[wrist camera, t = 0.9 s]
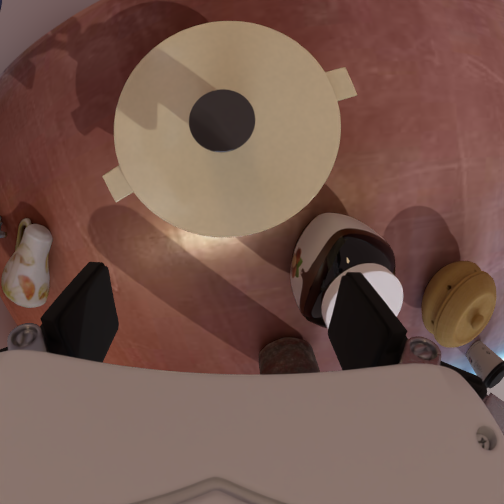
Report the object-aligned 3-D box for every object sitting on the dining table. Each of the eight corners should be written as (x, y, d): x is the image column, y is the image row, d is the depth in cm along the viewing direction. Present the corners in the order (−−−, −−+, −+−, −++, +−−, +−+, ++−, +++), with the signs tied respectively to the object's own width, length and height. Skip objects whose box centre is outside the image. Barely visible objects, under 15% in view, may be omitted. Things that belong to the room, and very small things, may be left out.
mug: (70, 226, 28) (39, 302, 22) (62, 261, 34) (40, 324, 28) (22, 201, 24) (-17, 272, 18) (22, 241, 31) (-4, 301, 25)
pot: (477, 255, 33) (518, 286, 24) (449, 319, 38) (482, 356, 29) (429, 246, 32) (476, 282, 23) (399, 320, 36) (432, 366, 27)
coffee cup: (456, 362, 43) (479, 394, 34) (474, 335, 41) (501, 366, 32) (472, 361, 44) (494, 390, 35) (489, 336, 42) (513, 364, 33)
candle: (261, 329, 35) (283, 478, 17) (317, 330, 36) (366, 465, 17) (254, 369, 38) (268, 500, 19) (304, 369, 39) (337, 492, 20)
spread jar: (311, 197, 29) (355, 237, 18) (393, 230, 31) (453, 275, 20) (271, 294, 33) (288, 367, 22) (351, 313, 35) (388, 376, 24)
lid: (90, 90, 16) (35, 80, 9) (282, 1, 14) (303, -47, 8) (178, 264, 22) (159, 317, 15) (363, 184, 20) (413, 208, 14)
